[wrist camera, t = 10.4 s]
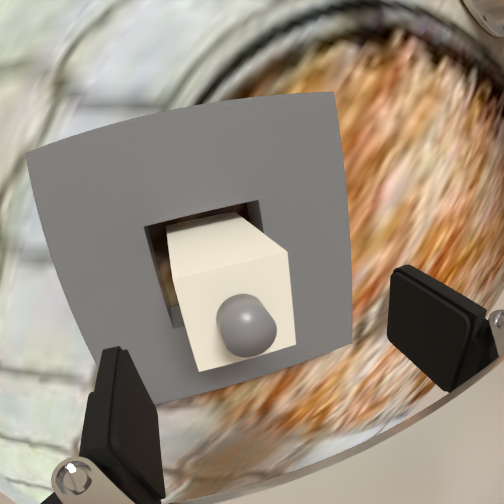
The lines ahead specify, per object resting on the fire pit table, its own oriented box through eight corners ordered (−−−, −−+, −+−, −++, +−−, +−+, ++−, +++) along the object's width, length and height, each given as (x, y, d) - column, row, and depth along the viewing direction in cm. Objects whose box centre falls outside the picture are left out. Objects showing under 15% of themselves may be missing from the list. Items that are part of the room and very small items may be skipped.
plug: (234, 211, 21) (303, 264, 11) (244, 274, 22) (309, 363, 13) (165, 225, 20) (175, 296, 10) (180, 289, 21) (204, 394, 12)
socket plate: (311, 98, 20) (333, 91, 17) (333, 325, 26) (352, 342, 23) (43, 152, 16) (25, 153, 13) (123, 385, 22) (122, 410, 19)
